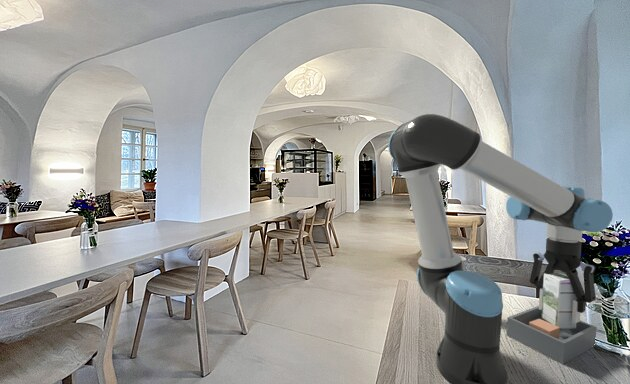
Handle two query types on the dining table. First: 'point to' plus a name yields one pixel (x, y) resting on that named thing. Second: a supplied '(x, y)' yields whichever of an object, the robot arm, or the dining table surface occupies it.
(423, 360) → the dining table surface
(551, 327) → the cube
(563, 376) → the dining table surface
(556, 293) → the syrup box
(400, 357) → the dining table surface
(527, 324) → the tote
